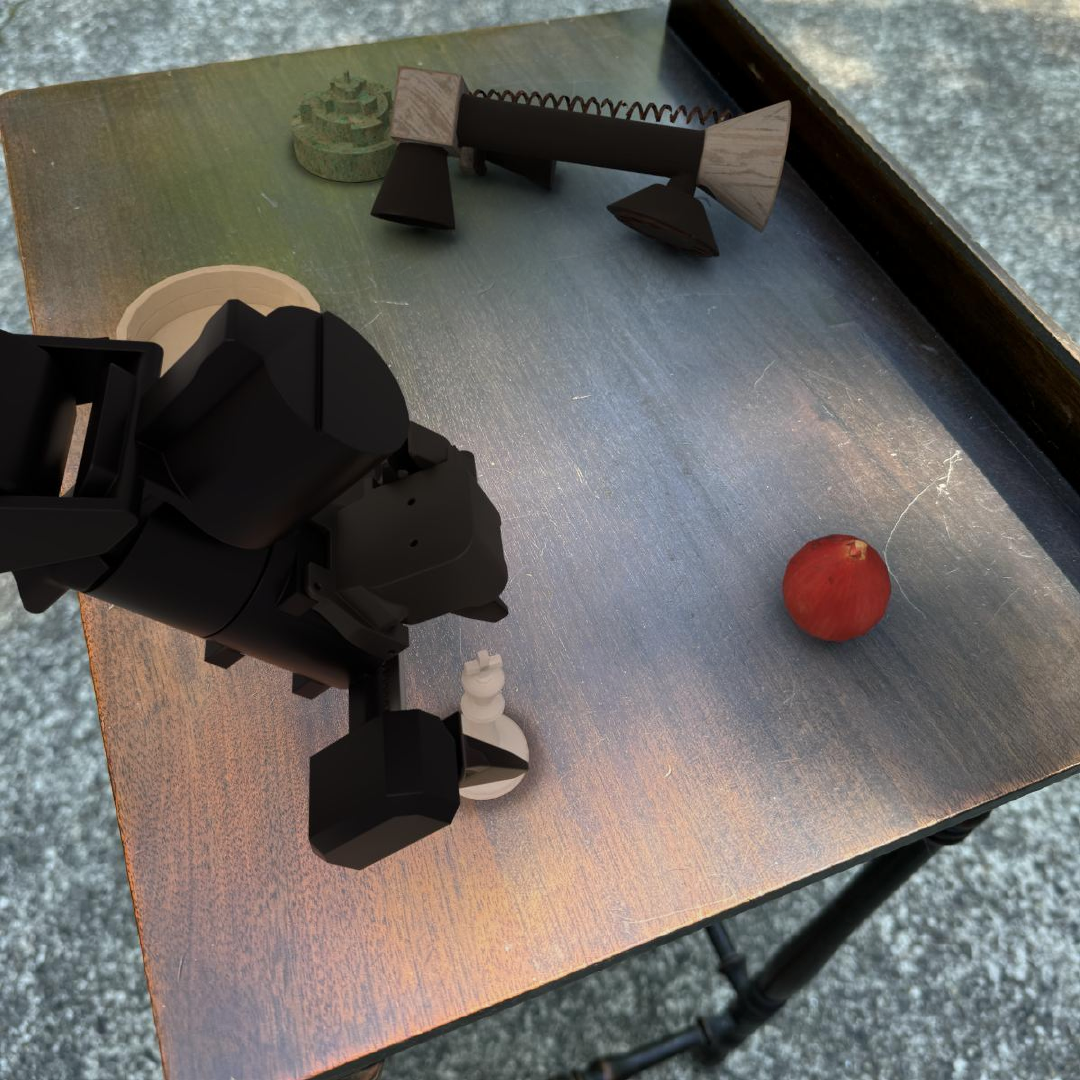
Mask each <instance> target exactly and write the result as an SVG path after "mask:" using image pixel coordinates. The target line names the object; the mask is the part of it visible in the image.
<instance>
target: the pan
mask: <svg viewBox="0 0 1080 1080" xmlns="http://www.w3.org/2000/svg"><path fill="white" fill-rule="evenodd" d="M229 299H239V300H241V301H242V302H244V303H245V304H247V305H249V306H250V307H252V308H253V309H255V310H257V311H258V312H260V313H261V314H263V315H264V316H267V315H268V314H269V313H270V312H272V311H273V310H275V309H276V308H278V307H283V306H289V305H294V306H300V307H306V308H309V309H312V310H314V311H317V312H319V313H322V310H321V306H320V304H319V302H318V301H317V299H316V298H315V297H314V296H313V294H312V293H311V292H310V290H309V289H308V288H307V287H306V286H304V284H301V283H300V282H299V281H297V280H295V279H293V278H292V277H291V276H289V275H287V274H285V273H282V272H278V271H276V270H272V269H268V268H266V267H263V266H256V265H255V266H254V265H243V264H230V263H229V264H221V265H211V266H203V267H202V266H201V267H197V268H194V269H191V270H190V269H189V270H187V271H183V272H180V273H177V274H174V275H171V276H168V277H166V278H165V279H163V280H161V281H159V282H157V283H155V284H154V285H152V286H149V287H148V288H146V289H145V290H144V291H143V292H142V293H141V294H140V295H138V297H136V298H135V299H134V301H132V302H131V303H130V304H128V306H127V307H126V308H125V310H124V312H123V315H122V316H121V318H120V320H119V322H118V323H117V326H116V329H115V330H116V331H115V332H116V333H115V334H116V336H115V337H116V339H115V340H130V341H147V342H155V343H157V344H159V345H160V346H161V347H162V348H163V350H164V357H163V364H162V370H161V377H162V376H163V374H164V373H165V372H166V371H167V370H168V369H169V368H170V367H171V366H172V365H173V364H174V363H175V362H176V361H177V360H178V359H179V358H180V357H181V356H182V355H183V354H184V353H185V352H186V351H187V350H188V349H189V348H190V347H191V346H192V345H193V344H194V343H195V342H196V341H197V339H198V338H199V336H200V334H201V332H202V330H203V328H204V326H205V324H206V323H207V322H208V320H209V319H210V318H211V317H212V316H213V315H214V314H215V313H216V312H217V311H218V310H219V309H220V308H221V307H222V306H223V305H224V304H225V302H226V301H227V300H229ZM161 377H160V378H161Z"/></svg>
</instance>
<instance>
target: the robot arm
mask: <svg viewBox="0 0 1080 1080" xmlns="http://www.w3.org/2000/svg"><path fill="white" fill-rule="evenodd" d="M163 357H164V350H163V348H162V347H161V346H160V345H159V344H157V343H155V342H147V341H130V340H116V339H114V338H113V339H111V338H110V337H109V336H103V337H102V336H100V337H81V336H62V335H61V336H59V335H46V334H45V335H44V334H30V333H29V334H26V333H13V332H10V331H7V330H5V329H1V328H0V574H4V573H5V574H6V573H11V574H12V576H13V578H14V581H15V583H16V587H17V592H18V596H19V598H20V600H21V603H22V606H23V608H24V610H25V611H26V612H27V613H30V614H32V615H40V614H43V613H45V612H46V611H48V610H49V609H50V607H52V606H53V605H54V604H55V603H56V602H57V601H59V600H60V599H61V598H62V597H63V596H64V595H65V594H66V593H67V592H68V591H70V590H72V591H75V592H79V593H81V594H84V595H85V596H89V597H91V598H94V599H96V600H99V601H102V602H105V603H107V604H110V605H113V606H116V607H118V608H121V609H123V610H126V611H128V612H131V613H134V614H137V615H139V616H142V617H145V618H148V619H150V620H153V621H154V622H155V621H156V622H158V623H161V624H163V625H166V626H169V627H171V628H174V629H177V630H179V631H181V632H184V633H187V634H190V635H192V636H195V637H198V638H200V639H203V640H205V644H204V645H205V646H204V654H203V655H204V656H203V657H204V658H203V662H204V663H206V664H210V665H213V666H215V667H218V668H221V669H223V670H228V669H229V668H231V667H232V666H233V665H235V664H236V663H238V662H239V661H240V660H241V659H243V658H245V657H246V656H248V657H251V658H253V659H256V660H258V661H261V662H263V663H266V664H269V665H272V666H274V667H277V668H280V669H283V670H285V671H288V672H291V676H292V677H291V683H292V684H291V694H292V695H293V694H294V695H296V696H299V697H302V698H305V699H308V700H309V701H313V700H314V699H316V698H317V697H319V696H320V695H322V694H323V693H325V692H326V691H328V690H330V689H331V688H334V689H337V690H342V691H343V690H348V697H347V698H348V699H347V700H348V733H347V734H345V735H343V736H342V737H340V738H338V739H336V740H335V741H333V742H332V743H330V744H329V745H326V746H325V747H323V748H322V749H320V750H319V751H318V752H315V753H313V755H311V756H309V762H308V763H309V770H308V772H309V773H308V827H307V828H308V831H307V832H308V833H307V834H308V836H307V838H308V843H309V846H310V849H311V852H312V853H313V854H314V855H315V856H316V857H318V858H320V859H321V860H322V861H324V862H325V863H326V864H329V865H334V866H338V867H342V868H347V869H350V870H354V871H355V870H356V871H359V872H360V871H362V870H364V869H366V868H368V867H370V866H373V865H374V864H376V863H378V862H380V861H382V860H384V859H386V858H388V857H389V856H391V855H394V854H396V853H398V852H400V851H401V850H403V849H406V848H407V847H409V846H411V845H413V844H415V843H417V842H419V841H421V840H422V839H425V838H427V837H428V836H430V835H433V834H434V833H436V832H438V831H440V830H442V829H445V828H446V827H448V826H450V825H452V822H453V821H454V819H455V816H456V814H457V812H458V810H459V808H460V806H461V795H460V794H459V789H460V788H466V787H471V786H476V785H482V784H487V783H493V782H498V781H504V780H509V779H513V778H516V777H518V776H520V775H522V774H524V773H525V774H526V773H527V772H529V770H530V768H529V766H530V765H529V762H527V761H525V760H524V759H522V758H520V757H519V756H517V755H515V754H514V753H512V752H510V751H507V750H505V749H502V748H500V747H497V746H494V745H492V744H489V743H487V742H484V741H481V740H479V739H476V738H474V737H471V736H468V735H466V734H464V733H463V730H462V718H461V715H462V713H461V711H459V710H456V711H455V712H453V713H452V714H450V715H448V716H446V717H445V718H443V719H441V718H440V716H438V715H436V714H433V713H431V712H428V711H426V710H422V709H420V708H410V709H409V708H407V707H408V706H407V688H406V687H407V686H406V668H405V650H407V649H408V648H410V632H409V631H410V630H409V627H408V626H414V625H418V624H421V623H425V622H427V621H430V620H433V619H437V618H439V617H441V616H445V615H448V614H452V615H456V616H459V617H462V618H465V619H468V620H469V619H470V620H474V621H475V620H476V621H480V622H485V623H491V624H495V623H498V622H500V621H502V620H503V619H505V618H507V617H508V616H509V613H510V611H509V607H508V605H507V604H506V603H505V601H503V599H502V598H501V597H500V596H501V594H503V592H504V591H505V589H506V587H507V585H508V581H509V570H508V564H507V562H506V558H505V553H504V545H503V537H502V530H501V527H502V517H501V513H500V511H498V509H497V507H496V506H495V505H494V503H493V502H492V501H491V499H490V498H489V496H488V495H487V494H486V492H485V491H484V490H483V488H482V487H481V486H480V484H479V482H478V474H477V465H476V458H475V455H474V453H473V452H472V451H470V450H465V449H461V450H459V448H458V447H457V446H456V445H455V444H452V442H450V441H449V439H448V438H447V437H445V436H444V435H443V434H440V433H439V432H436V431H434V430H432V429H430V428H428V427H425V426H424V425H421V424H419V423H417V422H415V421H413V420H412V419H411V420H410V414H409V409H408V406H407V401H406V398H405V396H404V394H403V391H402V389H401V387H400V384H399V381H398V380H397V378H396V377H395V375H394V374H393V372H392V370H391V368H390V367H389V365H388V364H387V362H385V360H384V359H383V357H382V356H381V355H380V353H379V352H378V351H377V350H376V348H375V347H374V346H373V345H372V344H371V343H370V342H369V341H368V340H367V339H366V338H365V337H364V336H363V335H362V334H361V333H360V331H357V330H356V329H355V328H353V326H351V325H350V324H349V323H348V322H346V321H345V320H343V319H342V318H340V317H339V316H337V315H336V314H334V313H332V312H331V311H328V310H325V311H323V313H322V312H321V313H319V312H317V311H314V310H312V309H309V308H306V307H300V306H294V305H289V306H283V307H278V308H276V309H275V310H273V311H272V312H270V313H269V314H268V315H267V316H264V315H263V314H261V313H260V312H258V311H257V310H255V309H253V308H252V307H250V306H249V305H247V304H245V303H244V302H242V301H241V300H239V299H229V300H227V301H226V302H225V304H224V305H223V306H222V307H221V308H220V309H219V310H218V311H217V312H216V313H215V314H214V315H213V316H212V317H211V318H210V319H209V320H208V322H207V323H206V324H205V326H204V328H203V330H202V332H201V334H200V336H199V338H198V339H197V341H196V342H195V343H194V344H193V345H192V346H191V347H190V348H189V349H188V350H187V351H186V352H185V353H184V354H183V355H182V356H181V357H180V358H179V359H178V360H177V361H176V362H175V363H174V364H173V365H172V366H171V367H170V368H169V369H168V370H167V371H166V372H165V373H164V374H163V376H162V377H161V370H162V364H163ZM160 377H161V378H160ZM87 404H91V407H90V412H89V417H88V421H87V426H86V431H85V436H84V441H83V446H82V451H81V454H80V460H79V465H78V469H77V474H76V479H75V483H74V484H73V485H72V486H71V487H69V489H68V490H67V491H66V492H65V493H64V494H62V495H61V496H60V494H61V490H62V485H63V481H64V476H65V471H66V468H67V464H68V458H69V453H70V449H71V444H72V440H73V435H74V431H75V426H76V423H77V418H78V413H77V407H78V406H83V405H87Z"/></svg>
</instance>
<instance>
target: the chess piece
mask: <svg viewBox="0 0 1080 1080" xmlns="http://www.w3.org/2000/svg"><path fill="white" fill-rule="evenodd" d="M476 654H477V655H476V657H477V658H476V659H473V660H468V661H465V662H464V663H463V668H464V669H463V670H462V673H461V679H460V680H461V685H462V688H463V689H464V693H463V694H462V696H461V699H460V709H461V712H462V713H461V718H462V730H463V733H464V734H466V735H468V736H471V737H474V738H476V739H479V740H481V741H484V742H487V743H489V744H492V745H494V746H497V747H500V748H502V749H505V750H507V751H510V752H512V753H514V754H515V755H517V756H519V757H520V758H522V759H524V760H525V761H527V762H528V763H530V762H529V761H530V751H529V746H528V741H527V738H526V736H525V733H524V732H523V730H522V728H521V727H520V726H519V725H518V724H517V723H516V722H515V721H514V720H513V719H511V718H510V717H509V716H507V715H505V714H504V710H505V708H506V701H505V697H504V695H503V692H501V691H502V690H503V688H504V685H505V681H506V680H505V679H506V676H505V672H504V670H503V669H502V668H503V659H502V657H501V653H498V654H494V655H490V656H489V652H488V649H484V650H480V651H477V653H476ZM525 775H526V773H524V774H522V775H520V776H518V777H516V778H513V779H509V780H504V781H498V782H493V783H487V784H482V785H476V786H471V787H466V788H460V789H459V794H460V797H462V798H463V797H464V798H466V799H470V800H474V801H475V800H477V801H486V800H493V799H498V798H499V797H503V796H504V795H506V794H508V793H509V792H511V791H512V790H514V789H515V788H516V787H517V786H518V785H519V784H520V783H521V781H522V780H523V778H524V777H525Z"/></svg>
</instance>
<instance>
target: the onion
mask: <svg viewBox="0 0 1080 1080" xmlns="http://www.w3.org/2000/svg"><path fill="white" fill-rule="evenodd" d="M887 565H888V564H886V562H885V561H884V560H883V558H882V557H881V555H880V553H879V552H878V551H877V550H876V549H875V548H874V547H872V546H871V545H870V544H869V543H868V542H867V541H866V540H864V539H861V538H859V537H857V536H854V535H852V534H850V535H849V534H839V533H832V534H828V535H825V536H821V537H818V538H815V539H812V540H809V541H808V542H807V543H805V544H804V545H803V546H802V547H801V548H800V549H799V550H798V551H796V553H794V555H793V556H791V558H790V559H789V561H788V563H787V565H786V568H785V571H784V574H783V578H782V582H781V584H782V585H781V586H782V595H783V601H784V606H785V608H786V611H787V612H788V614H789V615H790V617H791V618H792V620H793V622H794V624H795V625H796V626H798V627H799V628H800V629H802V630H803V631H804V632H806V633H807V634H808V635H810V636H812V637H815V638H817V639H820V640H823V641H827V642H841V643H842V642H845V641H848V640H850V639H854V638H856V637H860V636H863V635H866V634H867V633H869V631H870V630H871V629H873V628H874V627H875V626H876V625H877V624H878V623H879V622H881V620H882V619H883V618H884V616H885V614H886V610H887V608H888V605H889V601H890V599H891V596H892V583H891V579H890V572H889V568H888V566H887Z"/></svg>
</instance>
